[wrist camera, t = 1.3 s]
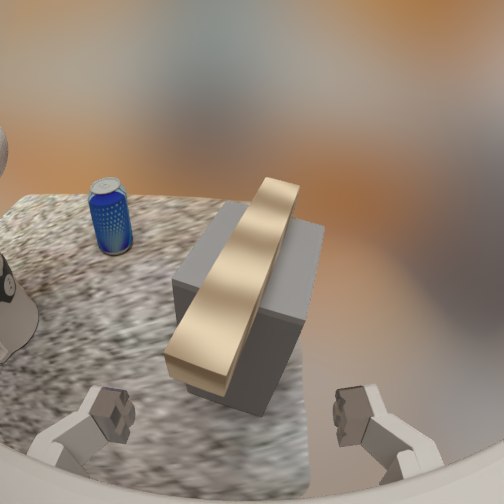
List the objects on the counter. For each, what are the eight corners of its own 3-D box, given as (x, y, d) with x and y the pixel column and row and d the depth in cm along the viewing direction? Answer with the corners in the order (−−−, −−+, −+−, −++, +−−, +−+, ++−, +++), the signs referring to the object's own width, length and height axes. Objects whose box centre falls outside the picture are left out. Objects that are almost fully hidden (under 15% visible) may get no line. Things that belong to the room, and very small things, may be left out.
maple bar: (224, 397, 19) (226, 375, 16) (169, 376, 19) (163, 352, 17) (294, 210, 37) (299, 185, 34) (262, 202, 37) (266, 177, 35)
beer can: (132, 231, 70) (124, 172, 60) (135, 253, 65) (125, 191, 54) (99, 237, 67) (87, 178, 57) (99, 260, 62) (84, 198, 51)
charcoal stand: (261, 416, 42) (305, 320, 24) (187, 391, 43) (171, 278, 26) (283, 346, 52) (325, 226, 35) (218, 325, 54) (227, 200, 37)
